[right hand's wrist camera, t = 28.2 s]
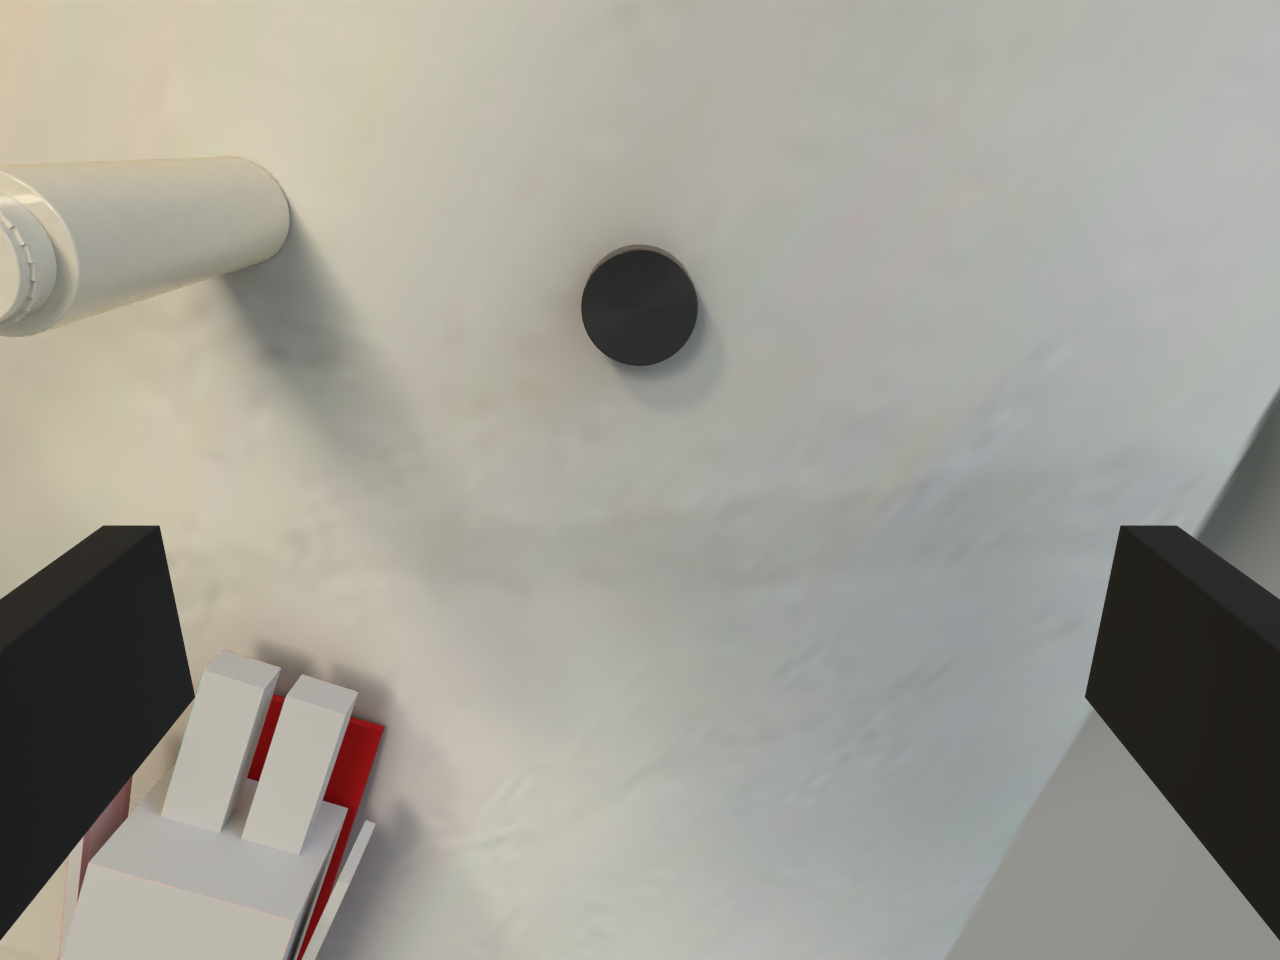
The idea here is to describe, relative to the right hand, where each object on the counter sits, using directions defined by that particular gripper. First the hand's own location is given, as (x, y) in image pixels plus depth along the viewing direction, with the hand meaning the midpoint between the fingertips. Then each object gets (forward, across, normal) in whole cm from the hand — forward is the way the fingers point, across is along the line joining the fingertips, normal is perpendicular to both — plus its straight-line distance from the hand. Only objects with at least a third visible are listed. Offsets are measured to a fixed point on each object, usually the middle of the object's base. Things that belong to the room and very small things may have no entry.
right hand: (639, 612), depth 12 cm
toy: (+27, +21, +30) cm, 46 cm away
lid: (+26, 0, 0) cm, 26 cm away
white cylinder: (+27, +16, -3) cm, 32 cm away
